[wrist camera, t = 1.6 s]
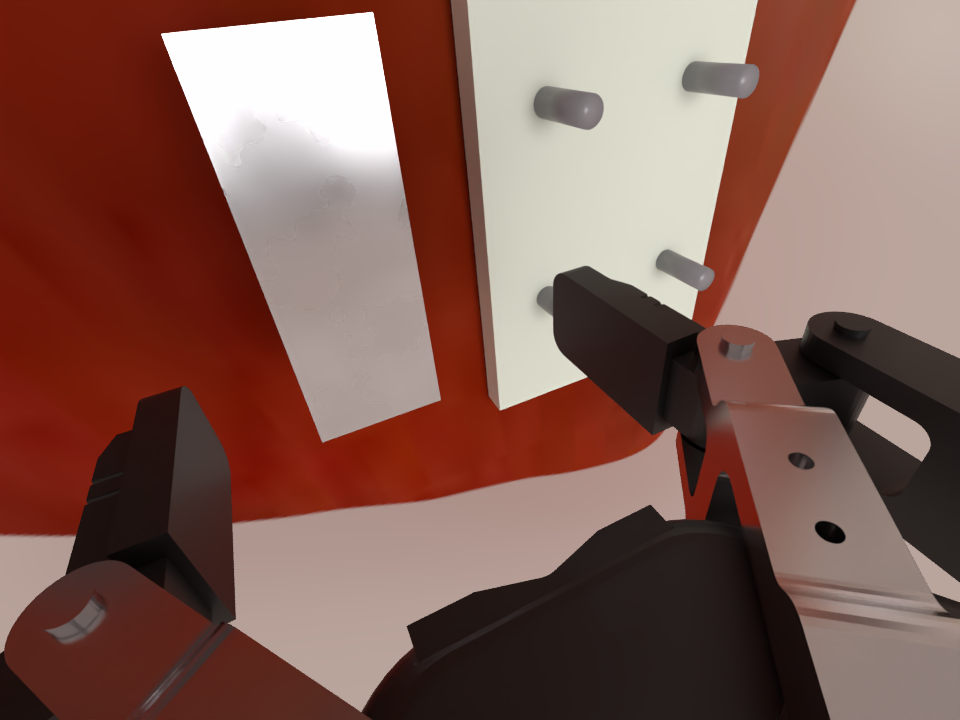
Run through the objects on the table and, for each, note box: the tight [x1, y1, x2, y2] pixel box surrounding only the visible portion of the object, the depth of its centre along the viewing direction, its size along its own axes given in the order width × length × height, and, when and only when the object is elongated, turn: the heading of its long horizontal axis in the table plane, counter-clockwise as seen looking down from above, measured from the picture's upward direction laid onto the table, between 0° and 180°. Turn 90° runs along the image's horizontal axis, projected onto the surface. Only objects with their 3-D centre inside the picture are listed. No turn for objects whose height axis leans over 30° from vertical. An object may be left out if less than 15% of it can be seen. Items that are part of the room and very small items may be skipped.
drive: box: [161, 12, 441, 442], centre depth 17 cm, size 12×5×7 cm, turn 5°
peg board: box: [451, 0, 759, 410], centre depth 23 cm, size 22×14×4 cm, turn 6°
